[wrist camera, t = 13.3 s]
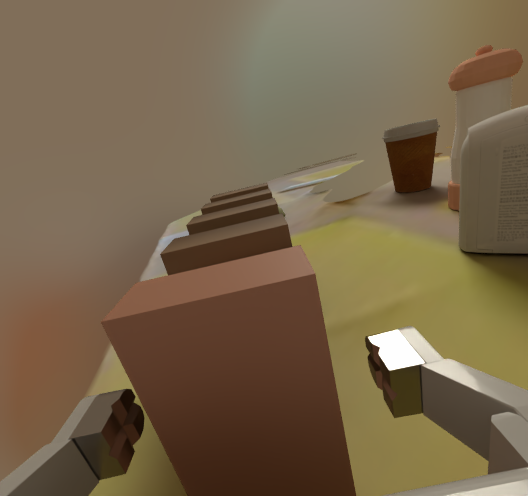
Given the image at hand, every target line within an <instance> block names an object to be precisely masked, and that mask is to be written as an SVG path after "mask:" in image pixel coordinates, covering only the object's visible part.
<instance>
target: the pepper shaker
mask: <svg viewBox="0 0 528 496" xmlns="http://www.w3.org/2000/svg"><path fill="white" fill-rule="evenodd" d="M492 49H493V47H492V46H491V45H485V46H483V47H481V48H479V49H478V50H477V51H476V53H475V54H476V57H473V58H470V59H468V60H466V61H464V62H462V63H461V64H460V65H459V66H457V67H456V68H455V69H454V70H453V72H452V74H451V75H450V78H449V82H448V84H449V86H450V88H451V90H452V91H457V93H456V129H455V134H454V140H453V146H452V152H451V181H450V182H449V183H448V206H449V208H451V209H453V210H458V211H459V202H460V160H461V148H462V145H463V142H464V140H465V139H466V137H467V133H468V128H470V127H471V126H473V125H475V124H477V123H479V122H482V121H484V120H486V119H488V118H491V117H493V116H496V115H498V114H501V113H504V112H506V111H509V110H511V97H512V78H511V76H513V75H515V74H517V73H518V71H519V70H520V68H521V66H522V63H523V60H522V56H521V54H520V53H519V52H518V51H517V50H516V49H508V48H503V49H499V50H495V51H492Z"/></svg>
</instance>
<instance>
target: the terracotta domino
mask: <svg viewBox="0 0 528 496" xmlns="http://www.w3.org/2000/svg"><path fill="white" fill-rule="evenodd" d="M101 323H102V325H103V327H104V329H105V331H106V333H107V335H108V337H109V339H110V341H111V343H112V345H113V347H114V349H115V351H116V353H117V355H118V357H119V359H120V361H121V363H122V365H123V367H124V369H125V371H126V373H127V375H128V377H129V379H130V381H131V383H132V385H133V387H134V389H135V391H136V393H137V395H138V397H139V399H140V401H141V403H142V405H143V407H144V409H145V411H146V413H147V415H148V417H149V419H150V421H151V423H152V425H153V427H154V429H155V431H156V433H157V435H158V437H159V439H160V441H161V443H162V445H163V447H164V449H165V451H166V453H167V455H168V457H169V459H170V461H171V463H172V465H173V467H174V469H175V471H176V473H177V475H178V477H179V479H180V481H181V483H182V485H183V487H184V489H185V491H186V493H187V495H188V496H356V492H355V487H354V481H353V476H352V470H351V465H350V460H349V454H348V449H347V443H346V438H345V432H344V427H343V422H342V416H341V411H340V405H339V400H338V394H337V389H336V384H335V378H334V373H333V367H332V362H331V356H330V351H329V346H328V340H327V335H326V329H325V324H324V318H323V313H322V308H321V302H320V297H319V291H318V286H317V281H316V275H315V272H314V270H313V268H312V266H311V264H310V263H309V261H308V259H307V257H306V255H305V253H304V251H303V249H302V247H301V245H299V246H294V247H290V248H286V249H281V250H277V251H273V252H268V253H264V254H260V255H255V256H251V257H247V258H242V259H238V260H234V261H229V262H225V263H221V264H216V265H212V266H207V267H203V268H199V269H194V270H190V271H186V272H181V273H177V274H173V275H168V276H164V277H160V278H155V279H151V280H147V281H142V282H138V283H135V284H134V286H133V287H132V288H131V289H130V290H129V291H128V292H127V293H126V294H125V296H124V297H123V298H122V299H121V300H120V301H119V302H118V303H117V304H116V306H115V307H114V308H113V309H112V310H111V311H110V312H109V313H108V315H107V316H106V317H105V318H104V319H103V320H102V321H101Z"/></svg>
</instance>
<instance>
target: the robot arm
mask: <svg viewBox="0 0 528 496" xmlns="http://www.w3.org/2000/svg"><path fill="white" fill-rule="evenodd" d="M365 342H366V347H367V349H368V351H369V352H370V354H369V356H368V363H369V368H370V371H371V374H372V377H373V379H374V381H375V383H376V385H377V387H378V388H380V389H381V390H383V396H384V400H385V402H386V404H387V406H388V407H389V409H390V411H391V413H392V415H393V417H394V418H398V417H403V416H409V415H415V414H420V413H423V415H425V416H426V417H428V418H429V419H430V420H432V421H433V422H435V423H436V424H437V425H439V426H440V427H441V428H443V429H444V430H446V431H447V432H448V433H450V434H451V435H453V436H454V437H455V438H457V439H458V440H460V441H461V442H462V443H464V444H465V445H467V446H468V447H469V448H471V449H472V450H474V451H475V452H476V453H478V454H479V455H481V456H482V457H483V458H485V459H486V460H487V461H489V465H488V475H484V476H479V477H474V478H469V479H464V480H459V481H454V482H449V483H444V484H439V485H434V486H428V487H423V488H418V489H413V490H408V491H403V492H398V493H393V494H388V495H383V496H528V390H525V389H523V388H520V387H518V386H516V385H513V384H511V383H508V382H506V381H503V380H501V379H498V378H496V377H493V376H491V375H489V374H486V373H484V372H481V371H479V370H476V369H474V368H471V367H469V366H466V365H464V364H462V363H459V362H457V361H454V360H452V359H443V358H442V356H441V355H440V354H439V353H438V352H437V351H436V350H435V349H434V348H433V347H432V346H431V345H430V344H429V343H428V342H427V341H426V340H425V339H424V337H423V336H422V335H421V334H420V333H419V332H418V331H417V330H416V329H415V328H414V327H412V326H407V327H403V328H399V329H396V330H392V331H388V332H383V333H379V334H374V335H370V336H366V338H365ZM134 400H135V395H134V393H133V392H132V390H131V389H123V390H118V391H113V392H108V393H102V394H99V395H94V396H88V397H85V398H84V399H82V400H81V401H80V402H79V404H78V405H77V407H76V408H75V410H74V411H73V412H72V414H71V415H70V417H69V418H68V420H67V421H66V422H65V424H64V426H63V427H62V428H61V430H60V431H59V432H58V434H57V435H56V437H55V438H54V440H53V441H52V442H51V444H47V445H45V446H44V447H42V448H41V449H40V450H39V451H38V452H36V453H35V454H34V455H33V456H31V457H30V458H29V459H28V460H27V461H25V462H24V463H23V464H22V465H21V466H19V467H18V468H17V469H15V470H14V471H13V472H12V473H11V474H9V475H8V476H7V477H6V478H4V479H3V480H2V481H1V482H0V496H88V495H89V494H90V493H91V492H92V490H93V489H94V488H95V487H96V485H97V484H98V483H99V480H102V479H107V478H111V477H115V476H119V475H123V474H126V472H127V470H128V467H129V465H130V462H131V460H132V457H133V455H134V452H135V451H134V448H133V445H134V444H135V443H136V442H137V440H138V439H139V438H140V437H141V434H142V431H143V428H144V414H143V411H142V409H141V407H140V406H139V405H137V404H135V403H134Z"/></svg>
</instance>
